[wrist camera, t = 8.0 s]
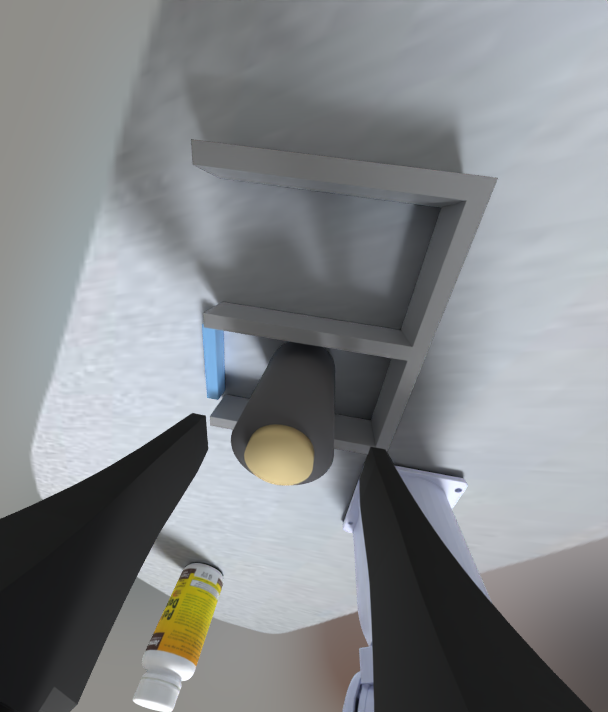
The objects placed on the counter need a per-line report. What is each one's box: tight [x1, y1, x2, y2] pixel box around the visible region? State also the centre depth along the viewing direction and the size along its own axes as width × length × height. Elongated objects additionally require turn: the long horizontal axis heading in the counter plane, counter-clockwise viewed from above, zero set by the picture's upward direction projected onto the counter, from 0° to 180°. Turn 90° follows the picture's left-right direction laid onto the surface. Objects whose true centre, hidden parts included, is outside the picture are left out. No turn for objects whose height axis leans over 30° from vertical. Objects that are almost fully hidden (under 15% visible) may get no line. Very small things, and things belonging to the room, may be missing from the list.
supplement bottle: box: [133, 563, 223, 712], centre depth 27 cm, size 6×6×10 cm
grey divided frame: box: [191, 139, 498, 455], centre depth 14 cm, size 15×13×2 cm
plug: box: [231, 342, 335, 485], centre depth 13 cm, size 4×4×8 cm
